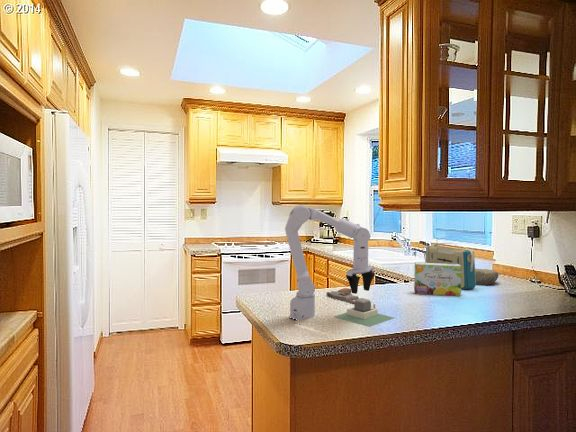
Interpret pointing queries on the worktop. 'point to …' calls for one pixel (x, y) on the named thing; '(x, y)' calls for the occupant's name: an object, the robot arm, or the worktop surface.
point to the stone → (485, 276)
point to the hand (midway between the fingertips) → (360, 291)
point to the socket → (362, 313)
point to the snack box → (437, 279)
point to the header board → (366, 322)
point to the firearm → (343, 295)
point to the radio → (454, 261)
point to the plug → (362, 305)
